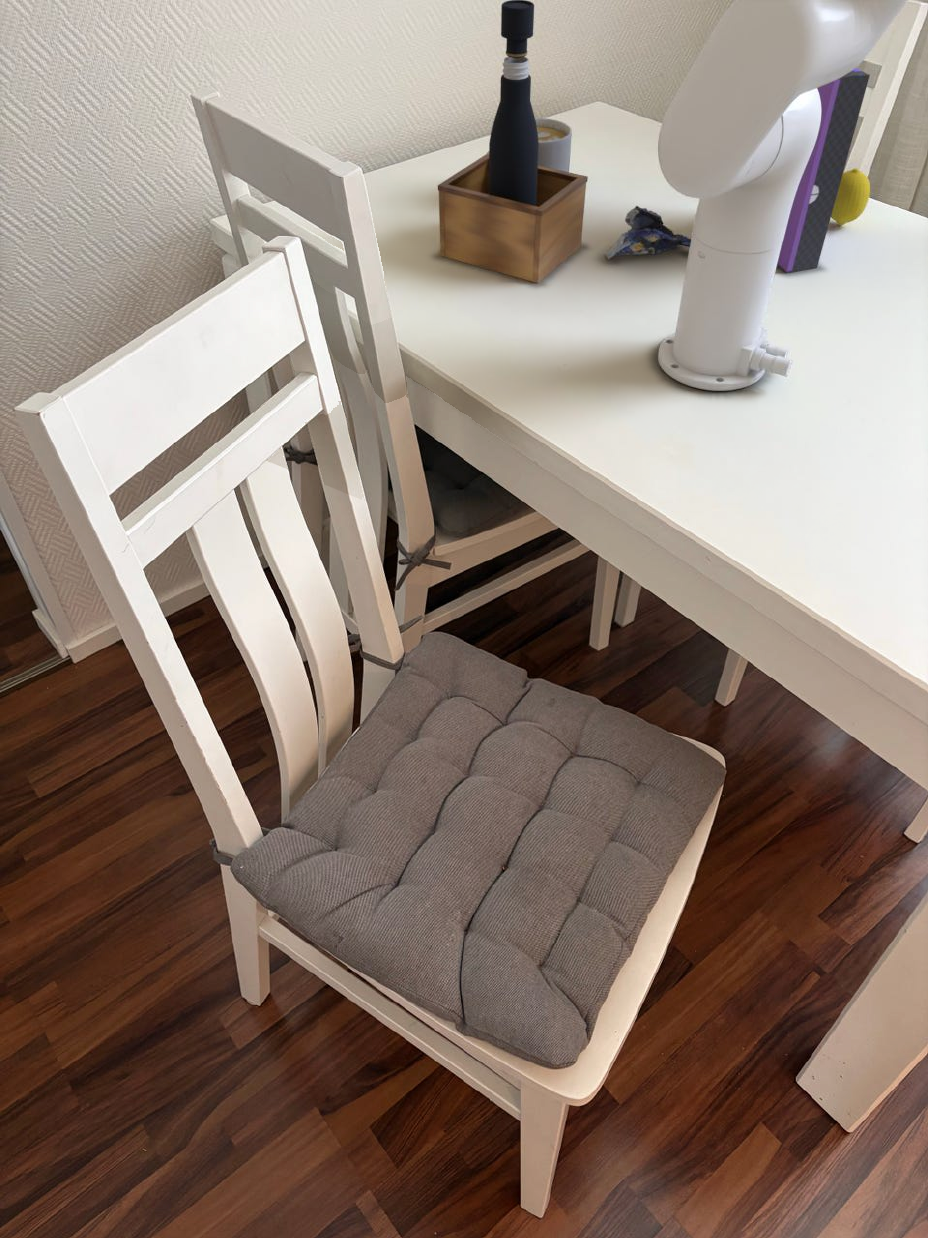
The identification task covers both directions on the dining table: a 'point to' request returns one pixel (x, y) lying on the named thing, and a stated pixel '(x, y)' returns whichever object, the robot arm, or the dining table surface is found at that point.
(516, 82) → the navy water bottle
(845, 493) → the dining table surface
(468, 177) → the wooden box
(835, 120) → the cereal box
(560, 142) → the coffee mug
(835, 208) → the lemon
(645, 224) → the snack package
